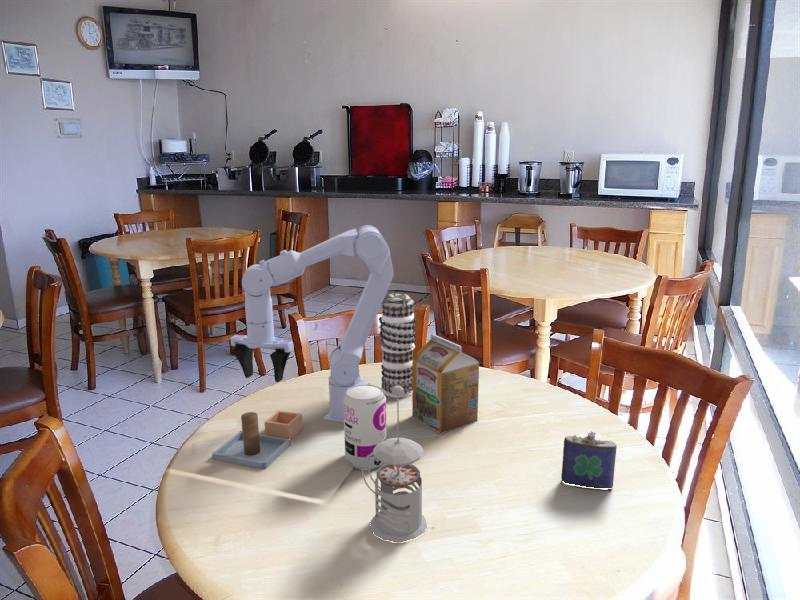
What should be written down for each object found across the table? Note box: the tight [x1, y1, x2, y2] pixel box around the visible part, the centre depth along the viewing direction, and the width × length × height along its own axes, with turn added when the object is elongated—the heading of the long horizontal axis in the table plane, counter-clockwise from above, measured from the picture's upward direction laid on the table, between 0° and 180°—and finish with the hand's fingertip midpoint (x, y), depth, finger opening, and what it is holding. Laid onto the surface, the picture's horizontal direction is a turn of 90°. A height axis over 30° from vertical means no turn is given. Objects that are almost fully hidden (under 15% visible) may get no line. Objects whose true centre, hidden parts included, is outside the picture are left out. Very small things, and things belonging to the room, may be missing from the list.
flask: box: [560, 431, 618, 489], centre depth 111 cm, size 9×3×11 cm, turn 74°
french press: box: [361, 386, 428, 542], centre depth 99 cm, size 10×12×25 cm
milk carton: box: [411, 333, 480, 434], centre depth 137 cm, size 11×11×19 cm
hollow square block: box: [264, 410, 303, 441], centre depth 132 cm, size 6×6×4 cm
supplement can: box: [343, 384, 388, 471], centre depth 120 cm, size 8×8×15 cm
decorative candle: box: [378, 292, 417, 399], centre depth 151 cm, size 9×9×25 cm
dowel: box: [240, 411, 260, 456], centre depth 123 cm, size 3×3×8 cm
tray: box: [211, 430, 291, 470], centre depth 124 cm, size 12×10×2 cm
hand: (264, 378), depth 136 cm, fingers open, 7 cm apart
